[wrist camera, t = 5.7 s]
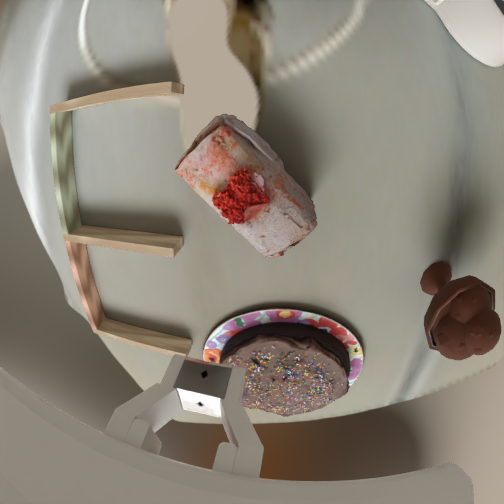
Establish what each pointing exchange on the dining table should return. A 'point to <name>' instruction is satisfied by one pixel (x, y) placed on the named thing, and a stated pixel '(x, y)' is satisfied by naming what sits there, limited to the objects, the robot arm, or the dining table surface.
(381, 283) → the dining table surface
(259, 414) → the dining table surface
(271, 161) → the food item
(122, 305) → the dining table surface
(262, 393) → the chocolate cake
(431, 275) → the ice cream bowl
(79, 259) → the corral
